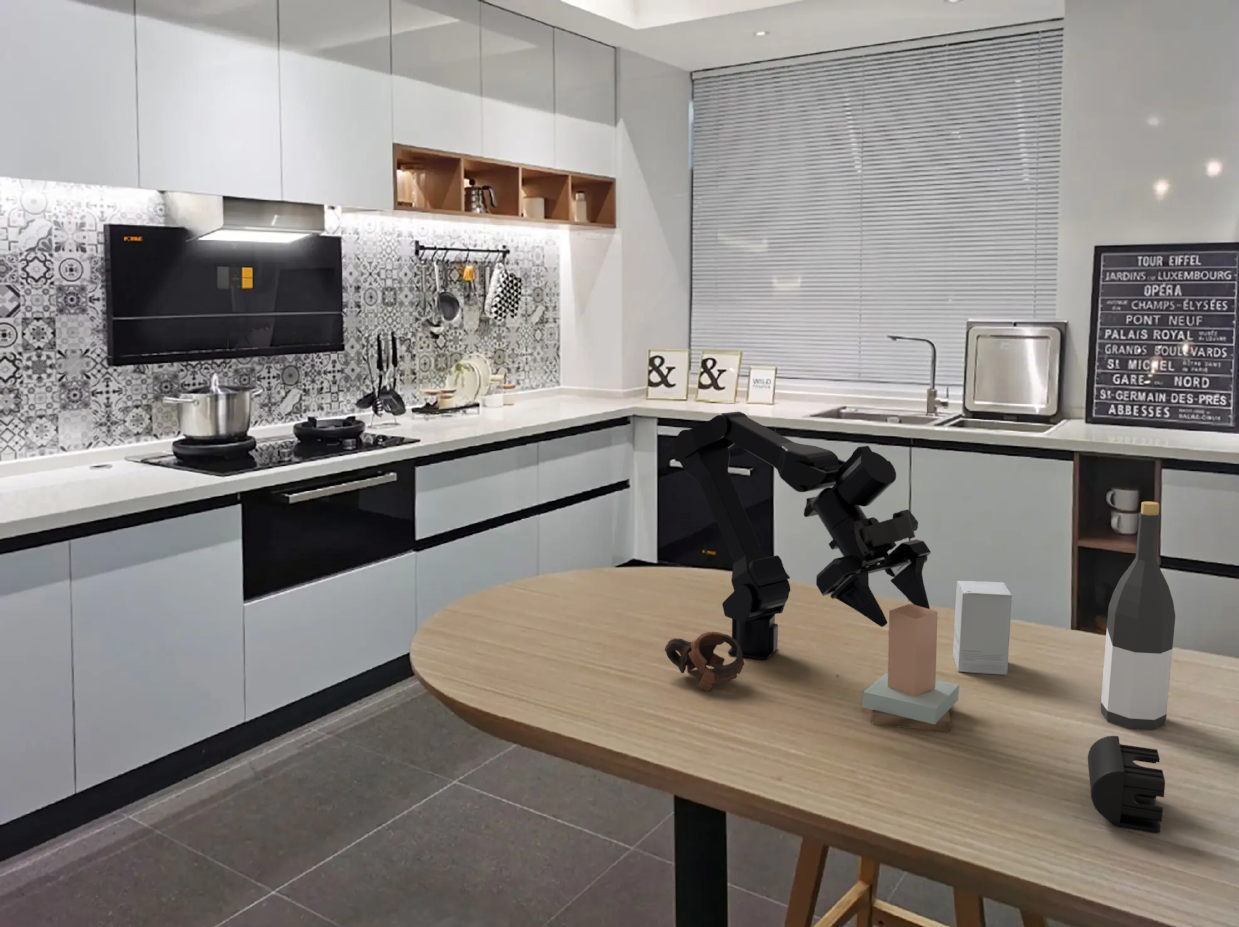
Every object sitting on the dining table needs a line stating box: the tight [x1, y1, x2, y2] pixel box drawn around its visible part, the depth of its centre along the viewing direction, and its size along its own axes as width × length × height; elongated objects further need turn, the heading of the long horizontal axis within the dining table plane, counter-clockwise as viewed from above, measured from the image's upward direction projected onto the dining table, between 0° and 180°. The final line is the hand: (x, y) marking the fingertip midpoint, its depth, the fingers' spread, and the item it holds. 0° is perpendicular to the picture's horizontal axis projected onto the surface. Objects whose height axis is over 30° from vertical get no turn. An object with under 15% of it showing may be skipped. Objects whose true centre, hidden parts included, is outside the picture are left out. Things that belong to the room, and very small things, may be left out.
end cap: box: [1087, 735, 1166, 834], centre depth 119 cm, size 10×7×7 cm
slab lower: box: [871, 709, 951, 732], centre depth 146 cm, size 10×10×2 cm
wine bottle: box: [1100, 500, 1176, 731], centre depth 141 cm, size 8×8×30 cm
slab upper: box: [862, 671, 960, 724], centre depth 145 cm, size 10×10×2 cm
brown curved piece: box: [664, 631, 745, 692], centre depth 158 cm, size 12×10×8 cm
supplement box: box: [952, 580, 1013, 676], centre depth 163 cm, size 7×7×13 cm
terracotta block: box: [887, 603, 939, 697], centre depth 144 cm, size 4×4×11 cm
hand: (906, 618), depth 145 cm, fingers open, 9 cm apart
